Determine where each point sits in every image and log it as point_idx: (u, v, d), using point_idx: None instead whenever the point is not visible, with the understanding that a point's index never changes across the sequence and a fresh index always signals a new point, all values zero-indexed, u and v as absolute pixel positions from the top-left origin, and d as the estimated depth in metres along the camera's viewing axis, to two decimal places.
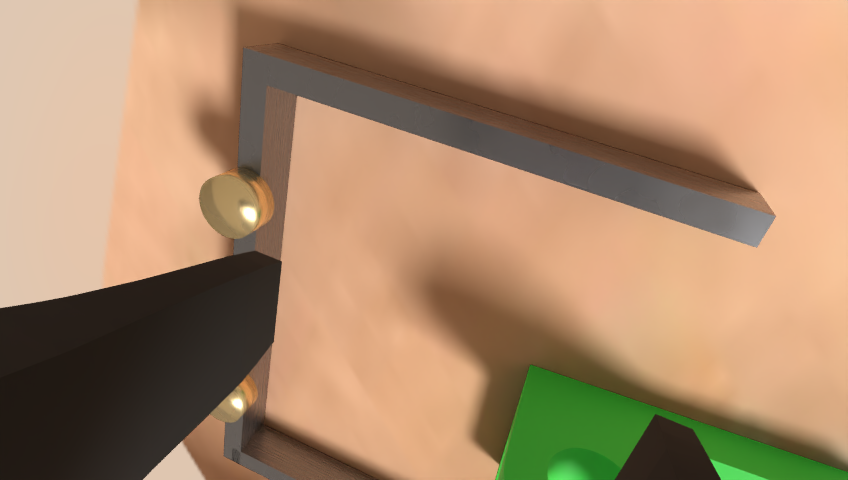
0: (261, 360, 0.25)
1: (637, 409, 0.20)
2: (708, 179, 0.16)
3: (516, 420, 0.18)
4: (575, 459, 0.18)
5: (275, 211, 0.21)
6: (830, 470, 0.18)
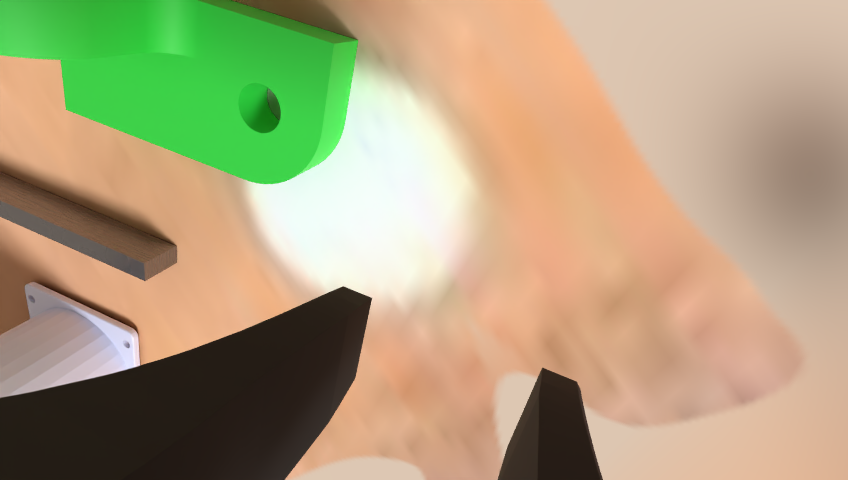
0: None
1: None
2: None
3: None
4: None
5: None
6: (326, 31, 0.18)
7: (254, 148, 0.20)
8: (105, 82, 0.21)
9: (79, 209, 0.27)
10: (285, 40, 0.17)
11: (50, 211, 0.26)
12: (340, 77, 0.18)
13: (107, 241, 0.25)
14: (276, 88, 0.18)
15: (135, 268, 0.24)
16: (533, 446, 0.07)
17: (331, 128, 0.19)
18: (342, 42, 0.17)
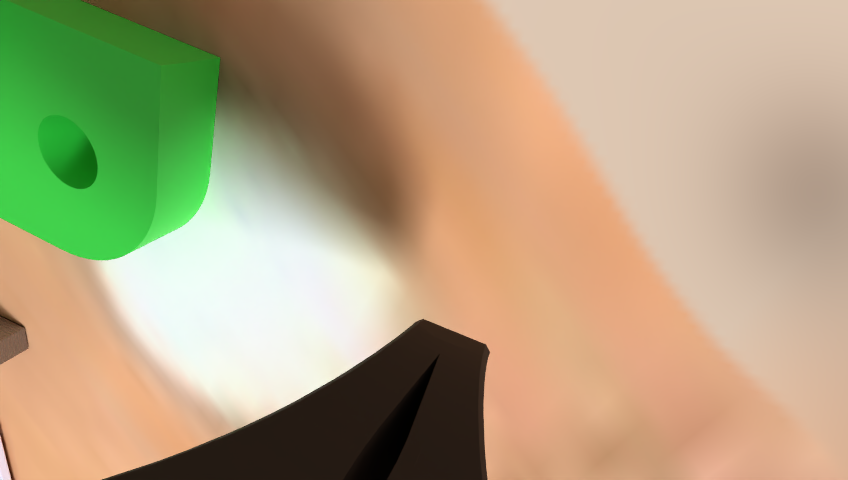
0: None
1: None
2: None
3: None
4: None
5: None
6: (171, 41, 0.12)
7: (68, 208, 0.13)
8: None
9: None
10: (91, 55, 0.11)
11: None
12: (187, 114, 0.12)
13: None
14: (87, 126, 0.12)
15: None
16: (423, 397, 0.07)
17: (178, 188, 0.13)
18: (183, 62, 0.11)
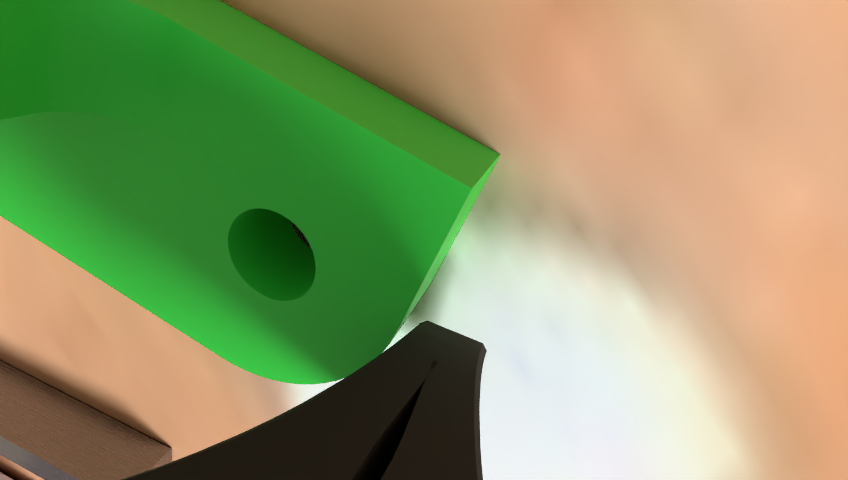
0: None
1: None
2: None
3: None
4: None
5: None
6: (435, 127, 0.09)
7: (248, 315, 0.10)
8: None
9: (22, 382, 0.17)
10: (356, 151, 0.08)
11: None
12: (453, 232, 0.09)
13: (60, 453, 0.15)
14: (315, 232, 0.09)
15: None
16: (419, 395, 0.07)
17: (409, 314, 0.10)
18: (480, 175, 0.08)
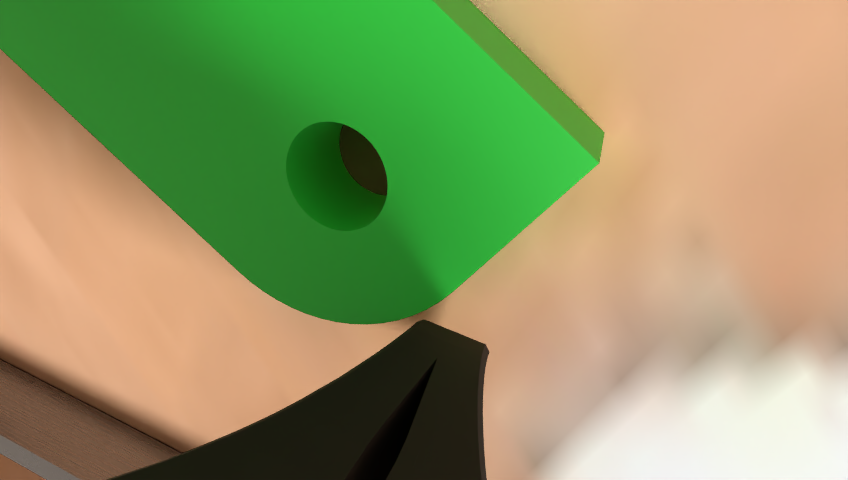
0: None
1: None
2: None
3: None
4: None
5: None
6: (550, 84, 0.08)
7: (286, 236, 0.09)
8: None
9: None
10: (480, 89, 0.07)
11: None
12: None
13: None
14: (398, 165, 0.08)
15: None
16: (422, 397, 0.07)
17: None
18: (598, 149, 0.07)
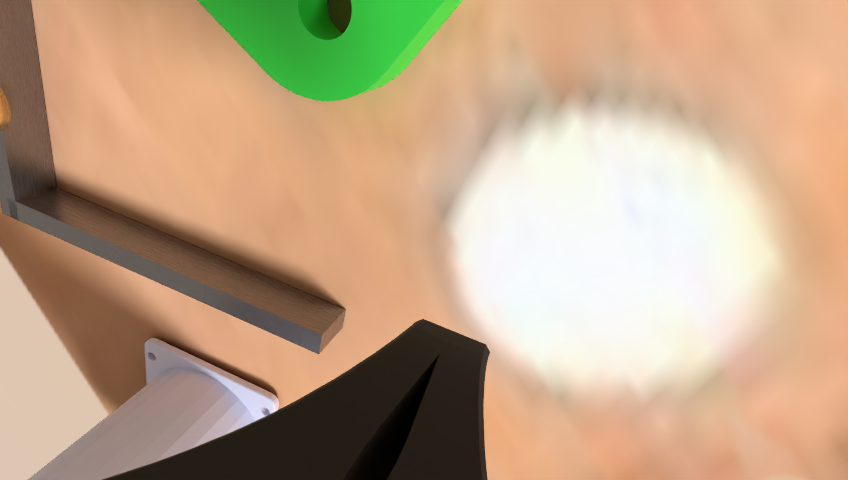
0: (23, 80, 0.22)
1: None
2: None
3: None
4: None
5: None
6: None
7: (295, 46, 0.16)
8: None
9: (227, 264, 0.23)
10: None
11: (198, 268, 0.22)
12: (433, 24, 0.15)
13: (272, 306, 0.21)
14: None
15: (308, 339, 0.21)
16: (423, 397, 0.07)
17: (393, 71, 0.16)
18: None
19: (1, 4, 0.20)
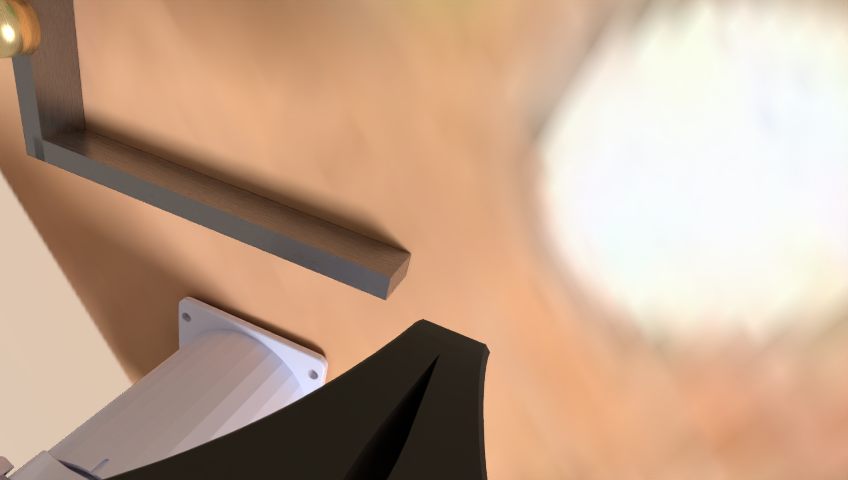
0: (53, 0, 0.20)
1: None
2: None
3: None
4: None
5: None
6: None
7: None
8: None
9: (277, 207, 0.21)
10: None
11: (247, 209, 0.20)
12: None
13: (332, 248, 0.19)
14: None
15: (374, 284, 0.19)
16: (423, 397, 0.07)
17: None
18: None
19: None
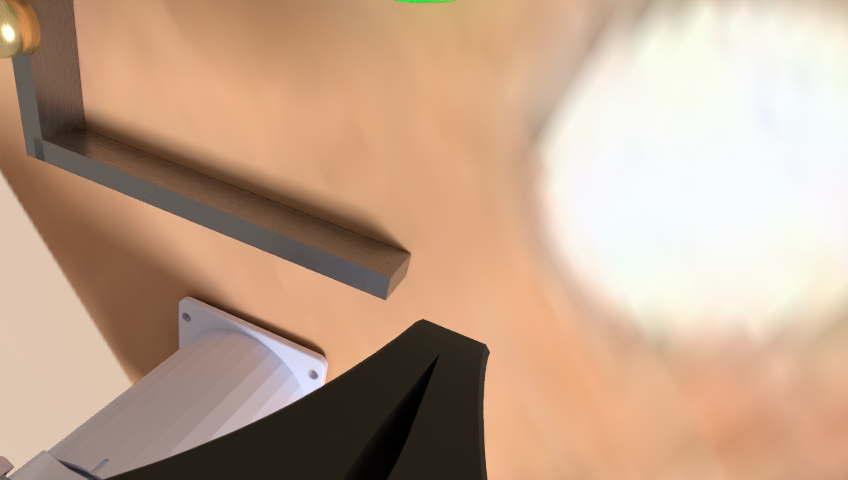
0: (53, 0, 0.20)
1: None
2: None
3: None
4: None
5: None
6: None
7: None
8: None
9: (277, 207, 0.21)
10: None
11: (247, 209, 0.20)
12: None
13: (332, 248, 0.19)
14: None
15: (374, 284, 0.19)
16: (423, 397, 0.07)
17: None
18: None
19: None
